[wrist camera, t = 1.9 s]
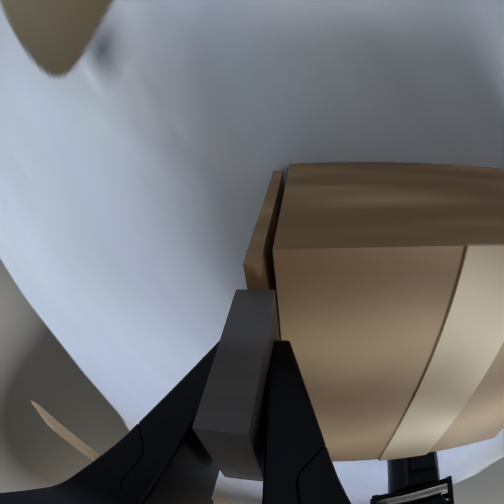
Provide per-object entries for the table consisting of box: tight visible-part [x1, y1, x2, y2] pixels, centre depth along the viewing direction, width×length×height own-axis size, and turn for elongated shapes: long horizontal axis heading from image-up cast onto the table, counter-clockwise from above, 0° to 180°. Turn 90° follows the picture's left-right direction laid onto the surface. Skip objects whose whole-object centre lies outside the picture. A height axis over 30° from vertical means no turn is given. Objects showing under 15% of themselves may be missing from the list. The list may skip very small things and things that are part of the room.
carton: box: [273, 162, 504, 461], centre depth 13 cm, size 14×13×8 cm
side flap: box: [192, 171, 284, 481], centre depth 13 cm, size 14×1×12 cm, turn 7°
